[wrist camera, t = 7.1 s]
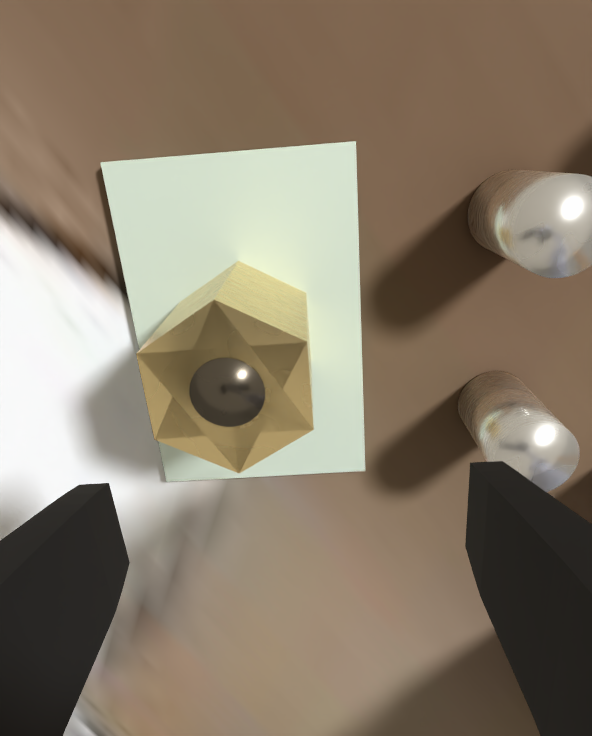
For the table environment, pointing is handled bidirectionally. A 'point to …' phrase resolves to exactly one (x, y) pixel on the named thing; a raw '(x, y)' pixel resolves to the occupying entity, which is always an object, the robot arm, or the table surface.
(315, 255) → the pad
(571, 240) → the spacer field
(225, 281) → the brass nut
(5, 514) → the table surface
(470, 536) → the robot arm
